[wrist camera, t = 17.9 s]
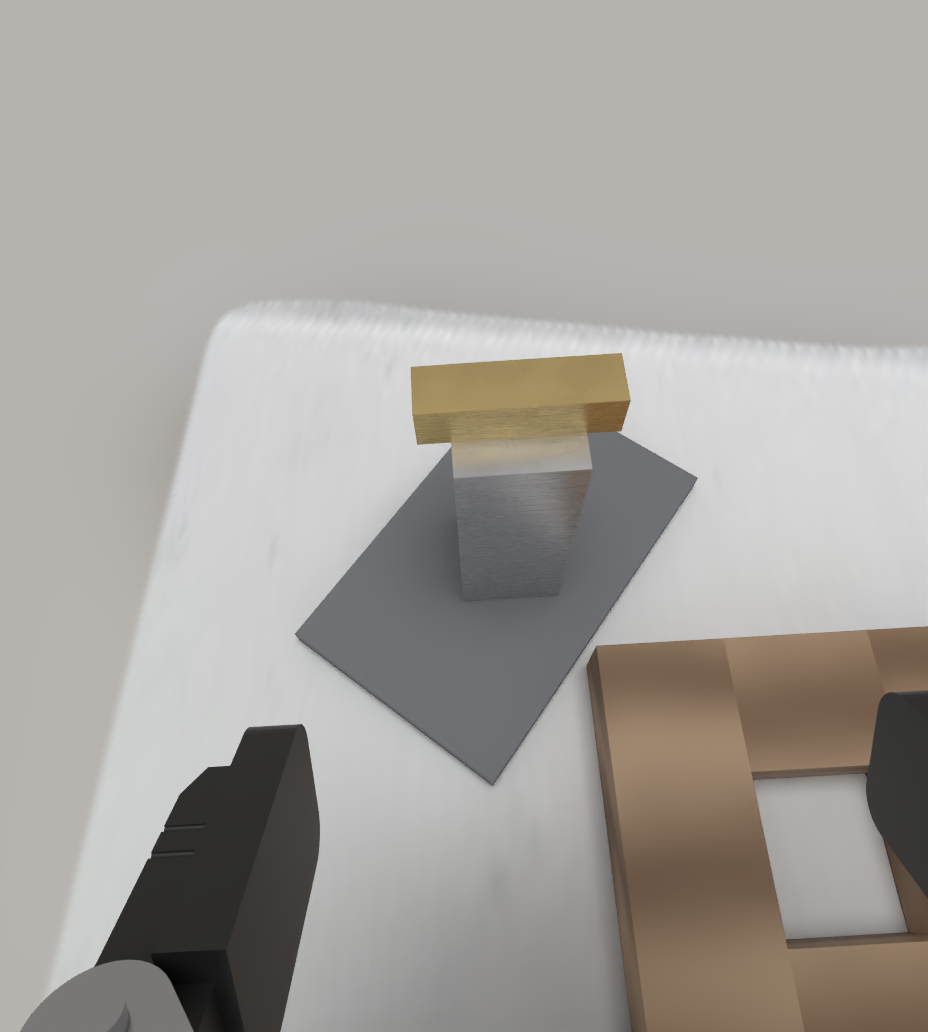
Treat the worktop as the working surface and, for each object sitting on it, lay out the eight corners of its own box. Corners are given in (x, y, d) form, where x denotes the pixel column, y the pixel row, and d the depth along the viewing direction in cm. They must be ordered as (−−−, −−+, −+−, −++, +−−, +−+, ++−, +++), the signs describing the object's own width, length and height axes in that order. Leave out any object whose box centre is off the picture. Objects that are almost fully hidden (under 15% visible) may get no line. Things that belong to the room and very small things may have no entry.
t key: (439, 603, 32) (413, 452, 20) (435, 517, 33) (409, 333, 22) (582, 594, 32) (637, 437, 20) (570, 508, 33) (615, 319, 22)
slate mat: (512, 382, 37) (513, 372, 36) (693, 486, 34) (697, 477, 34) (299, 639, 32) (294, 634, 31) (492, 785, 29) (493, 783, 28)
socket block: (586, 665, 31) (596, 645, 28) (949, 644, 31) (993, 622, 28) (642, 1117, 25) (662, 1148, 22) (1099, 1090, 25) (1175, 1118, 22)
